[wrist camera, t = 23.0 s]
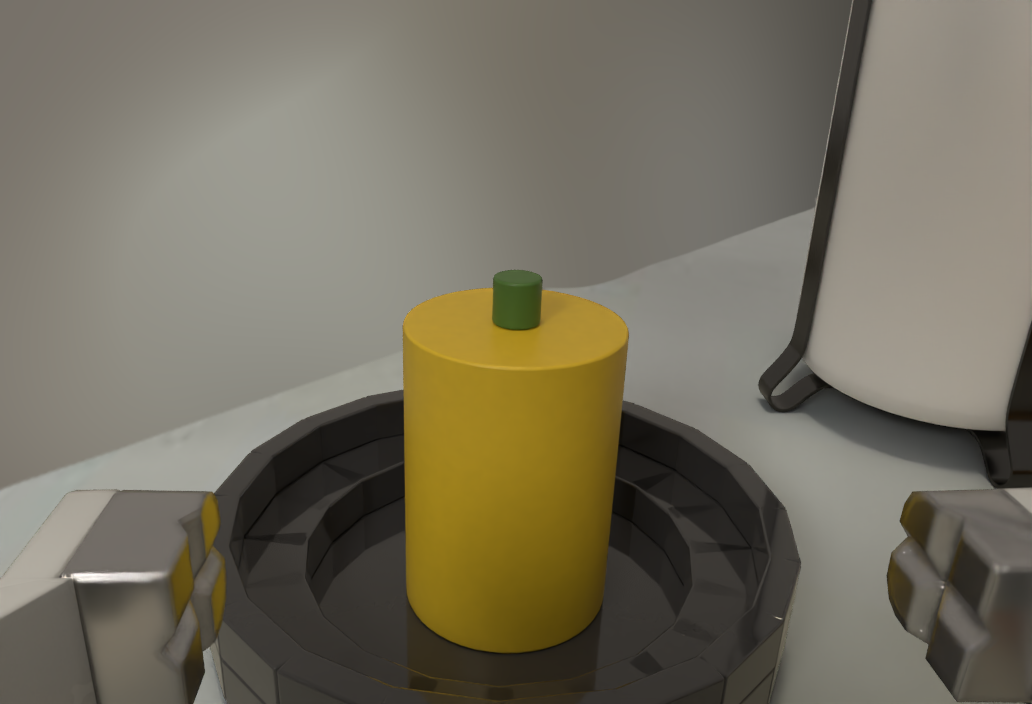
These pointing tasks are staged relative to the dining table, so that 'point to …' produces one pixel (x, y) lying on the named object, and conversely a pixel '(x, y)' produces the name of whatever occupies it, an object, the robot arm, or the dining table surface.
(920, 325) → the coffee press
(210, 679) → the dining table surface
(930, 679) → the dining table surface
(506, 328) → the pepper
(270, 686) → the bowl
